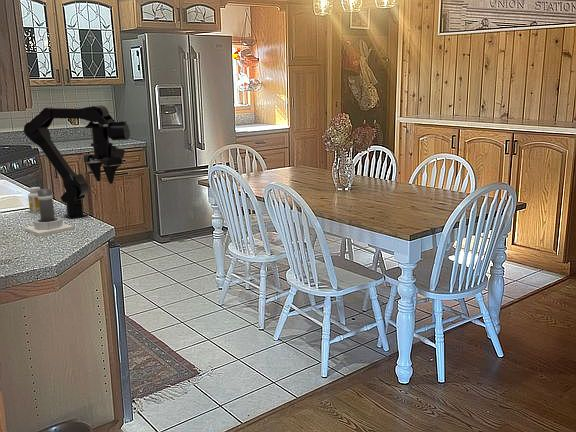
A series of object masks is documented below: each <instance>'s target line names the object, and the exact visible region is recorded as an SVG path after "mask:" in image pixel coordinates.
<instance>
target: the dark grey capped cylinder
mask: <svg viewBox="0 0 576 432" xmlns="http://www.w3.org/2000/svg"><path fill="white" fill-rule="evenodd" d="M37 193H38V201H39V209H40V213H39V215H40V217H39V218H40V219H41V222H52V221H55V217H56V216H55V209H54V200H53V199H54V198H53V193H52V188H40V190H37Z"/></svg>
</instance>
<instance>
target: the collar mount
mask: <svg viewBox="0 0 576 432" xmlns="http://www.w3.org/2000/svg"><path fill="white" fill-rule="evenodd" d="M23 228H24V231H25V232H27V233H30V234H33V235H35V236H37V237H41V236H42V237H43V236H47V235H48V236H49V235H51V234H56V233H61V232H67V231H71V230H74V226H73V225H71V224H67V223H64V222H63V218H62V217H59V216H55V221H52V222H41V218H37V219H35V220H34V221H33V225H30V226H26V227H25V226H24V227H23Z"/></svg>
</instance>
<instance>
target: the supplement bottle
mask: <svg viewBox="0 0 576 432" xmlns="http://www.w3.org/2000/svg"><path fill="white" fill-rule="evenodd" d="M28 189H29V193H28V195H27V197H28V206H29V213H30V214H40V209H39V201H38V193H37V190H40V189H41V187H40V186H33V187H29V188H28Z"/></svg>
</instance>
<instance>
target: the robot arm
mask: <svg viewBox="0 0 576 432" xmlns="http://www.w3.org/2000/svg"><path fill="white" fill-rule="evenodd" d="M54 119H75V120H76V119H77V120H79V119H80V120H84V121H87V122H88V124H86V126H85V129H91V135H92V143H90V147H93V153H86V154H84V156H83V163H85V165H86V166H87V167H88V168H89V170H90V172H91V174H93V177H94V178H95V179H96V181H97V182H101V178H102V176H101V167H102V169H103V171H104V173H105V176H106V179H107V181H108V183H109V185H112V184H113V183H114V179H115V176H116V172H117V170H118V168H120V167H122V166H121V165H123V164H124V162H123V159H124V157H125V152H126V150H125V149H122V148H117V146H116V145H113V143H112V142H110V139H111V140H112V141H129V139H130V137H131V131H130V127H129V125H128V121H126V120H123V121H116V120H115V119H114V118H113V117H112V115H111V114H110V113H109V110H108V108H107V107H106V106H104V105H92V106H87V107H82V108H81V107H78V108H77V107H73V108H72V107H53V106H49V107H44V108H43V109H42V110H41V111H40V112H39V113H38V114H37V115H36V116H35V117H33V118H32V119H31V120H30V121H29V122H26V123H25V124H24V126H23V133H24V135H25V136H26V137H27V138H28V139H29V140H30V142H32V143H34V144H35V145H37V147H39V148H40V149H41V151H42V152H43V153H44V155H45V156H46V157H47V159H48V160H49V162H50V163H51V164H52V166H53V168H54V169H55V171H56V172H57V173H58V174H59V176H60V177H61V179H62V183H63V188H64V189H65V192H64V193H63V194H62V195H61V196H60V199H61V202H62V203H65V205H66V206H65V208H66V214H63V217H65V218H67V219H77V218H81V217H87V216H88V214H87V213H84V209H83V199H85V198H86V194H87V193H88V191H89V184H88V183H89V181H88V180H87V179H86V178H85V177H84V174H82V173H79V174H77V173H76V172H74V170H73V169H72V167H71V166H70V165H69V163H68V162H67V160H66V159H65V158H64V156H63V155H62V154H61V152H60V151H59V149H58V148H57V146H56V145H55V143H54V142H53V140H52V137H51V133H50V130H49V127H51V125H52V123H53V122H54Z"/></svg>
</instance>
